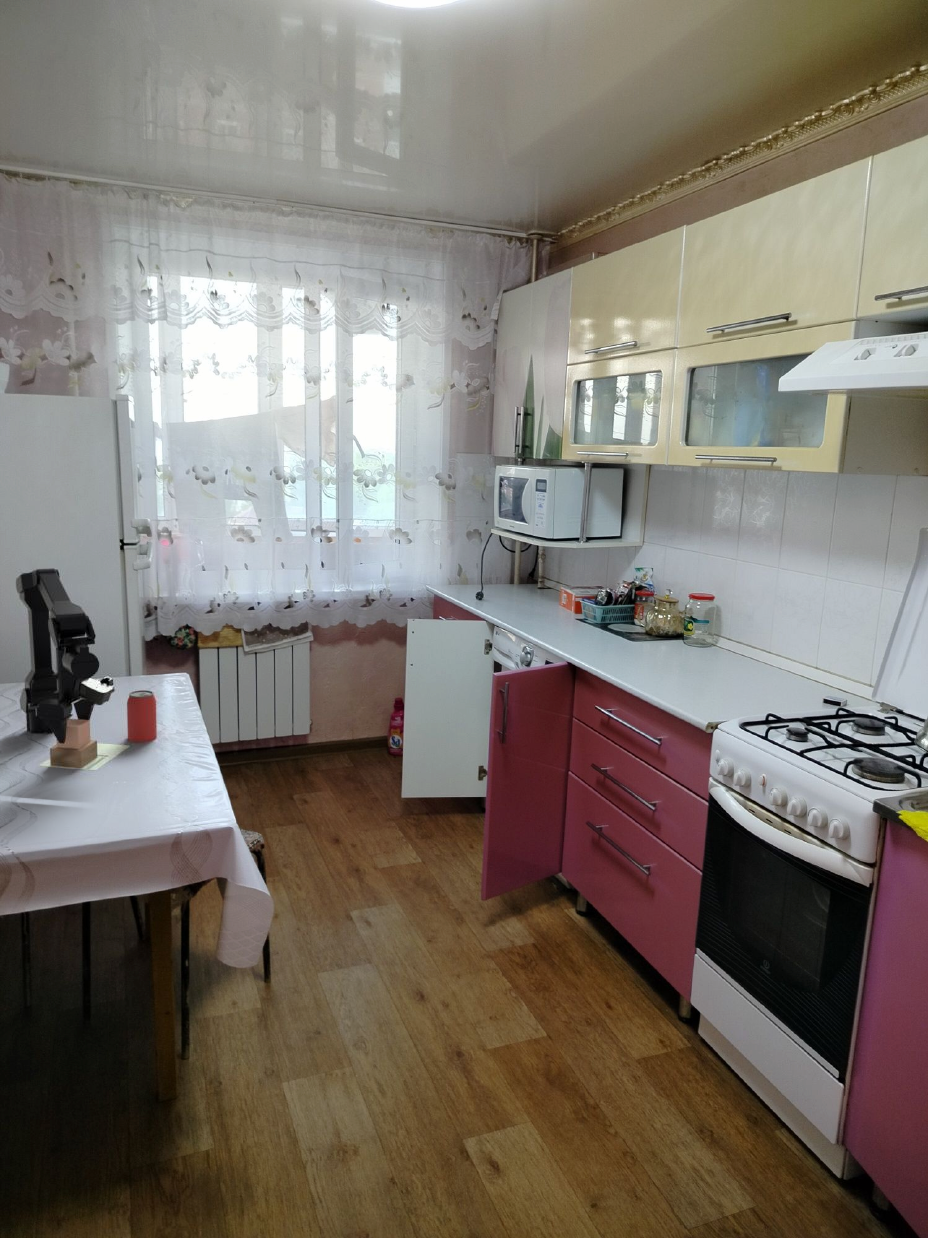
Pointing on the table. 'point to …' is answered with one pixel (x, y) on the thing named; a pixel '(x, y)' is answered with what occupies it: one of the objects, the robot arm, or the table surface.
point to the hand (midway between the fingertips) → (73, 736)
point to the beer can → (141, 716)
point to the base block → (73, 755)
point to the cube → (76, 734)
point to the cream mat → (104, 755)
